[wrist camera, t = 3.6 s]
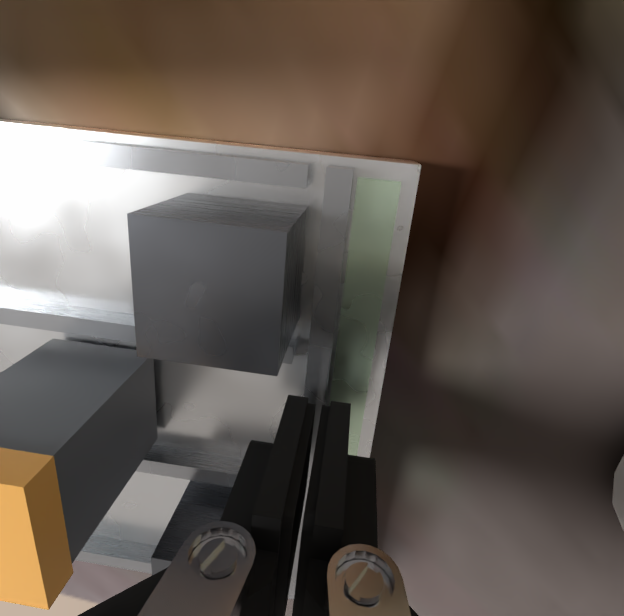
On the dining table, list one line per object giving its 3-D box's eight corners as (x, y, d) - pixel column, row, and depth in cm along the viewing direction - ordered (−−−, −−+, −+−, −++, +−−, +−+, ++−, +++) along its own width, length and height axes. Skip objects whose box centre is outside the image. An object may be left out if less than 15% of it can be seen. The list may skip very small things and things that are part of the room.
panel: (415, 160, 11) (442, 177, 7) (347, 554, 17) (341, 692, 13) (-149, 103, 13) (-402, 89, 8) (-41, 488, 18) (-163, 595, 14)
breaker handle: (156, 349, 12) (23, 487, 8) (161, 441, 14) (48, 609, 9) (49, 334, 13) (-146, 459, 8) (62, 426, 14) (-99, 582, 9)
